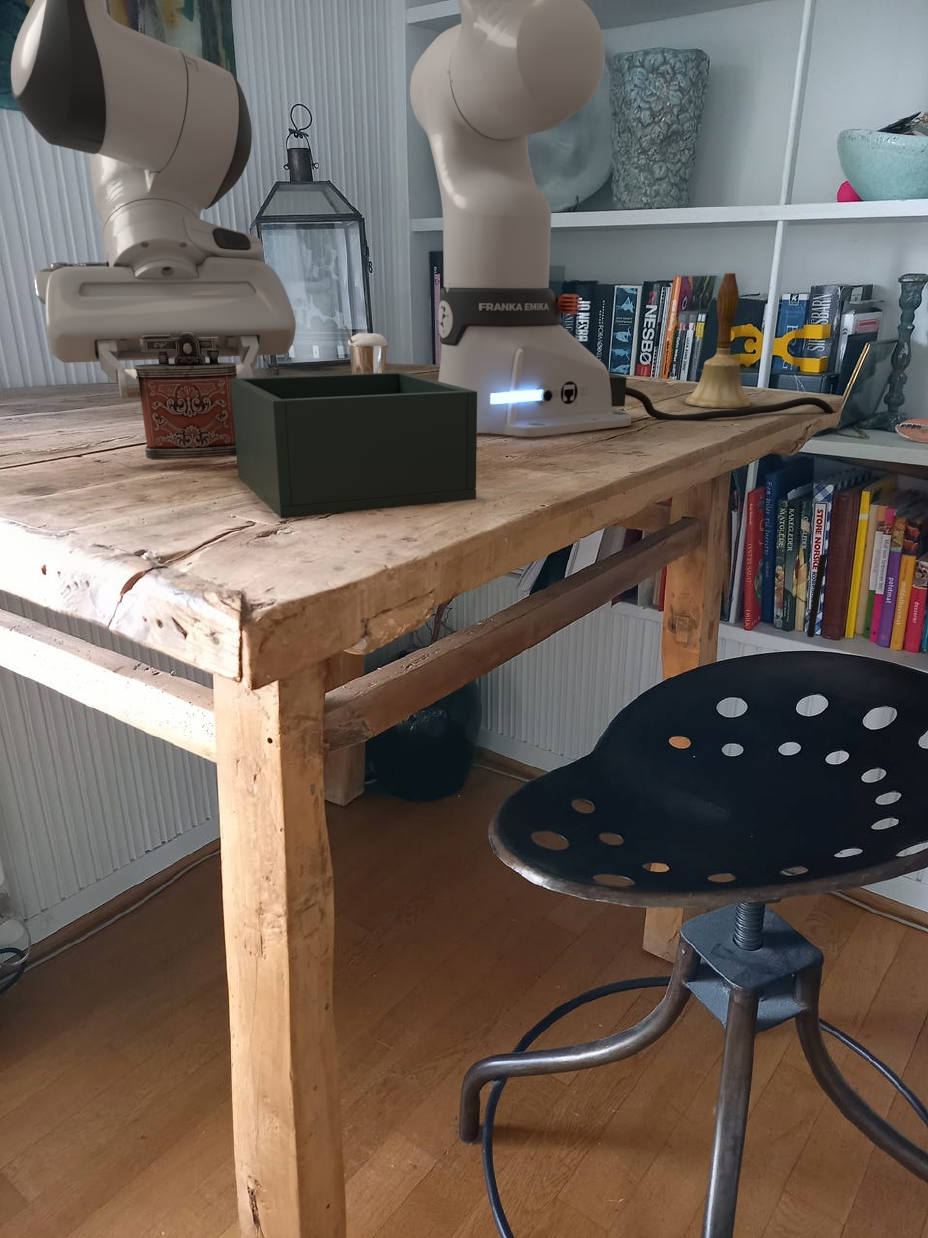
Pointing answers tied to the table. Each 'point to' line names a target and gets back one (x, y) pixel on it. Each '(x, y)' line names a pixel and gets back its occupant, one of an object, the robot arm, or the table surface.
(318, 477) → the bin
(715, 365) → the hand bell
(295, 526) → the table surface
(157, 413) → the lighter
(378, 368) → the milkshake
